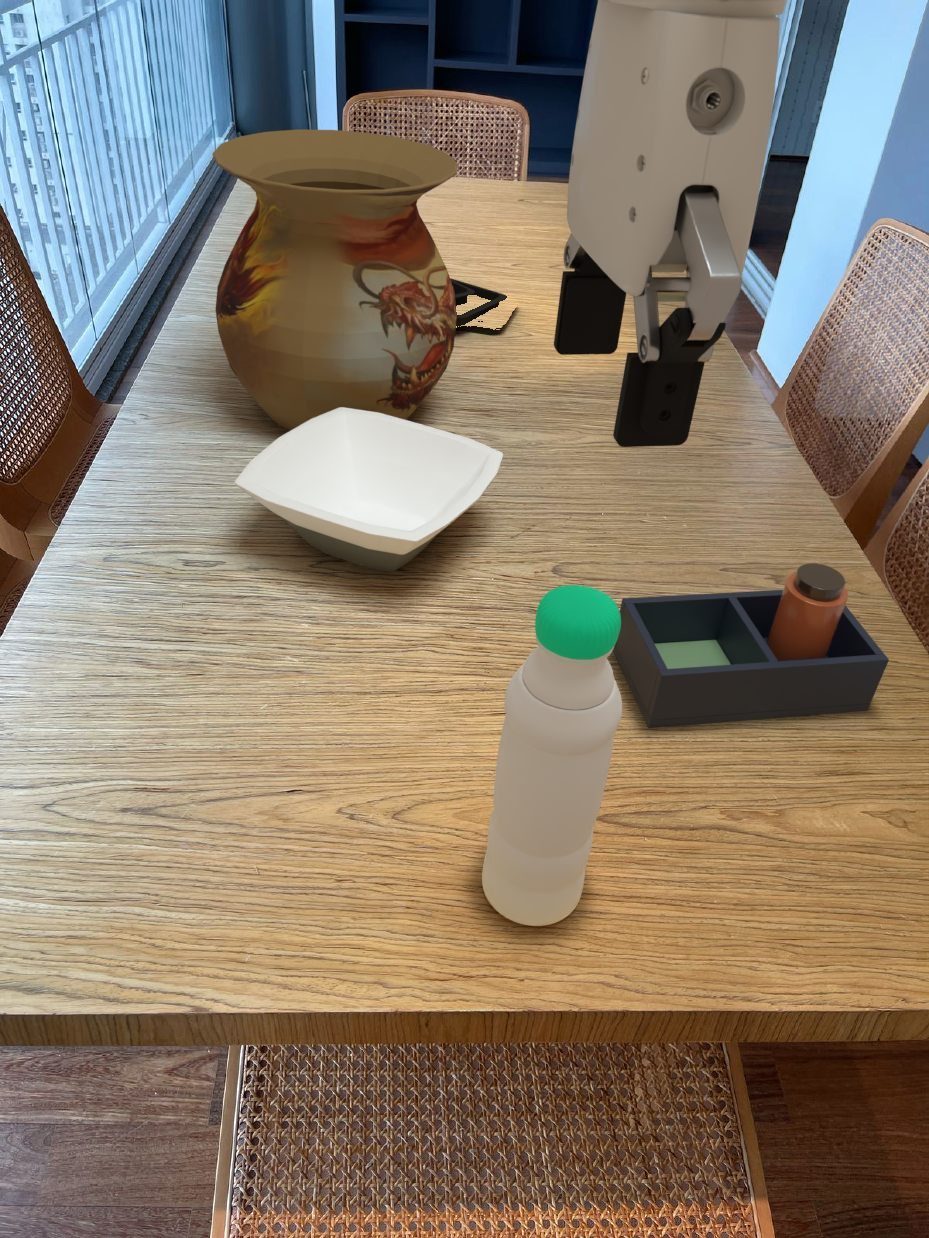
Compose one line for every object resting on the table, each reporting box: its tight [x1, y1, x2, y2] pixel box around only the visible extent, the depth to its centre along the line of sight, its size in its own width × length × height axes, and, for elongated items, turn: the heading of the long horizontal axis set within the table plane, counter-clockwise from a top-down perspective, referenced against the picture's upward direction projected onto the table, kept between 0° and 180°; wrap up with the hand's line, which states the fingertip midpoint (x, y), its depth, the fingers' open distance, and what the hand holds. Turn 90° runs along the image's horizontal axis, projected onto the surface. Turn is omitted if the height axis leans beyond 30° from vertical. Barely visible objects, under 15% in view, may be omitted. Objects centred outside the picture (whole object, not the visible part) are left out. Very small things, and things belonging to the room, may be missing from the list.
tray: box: [450, 277, 507, 336], centre depth 155 cm, size 30×23×5 cm
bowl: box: [234, 407, 504, 573], centre depth 102 cm, size 22×23×8 cm
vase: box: [212, 129, 458, 431], centre depth 120 cm, size 29×29×30 cm
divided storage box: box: [612, 589, 890, 729], centre depth 89 cm, size 11×20×6 cm, turn 100°
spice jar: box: [766, 562, 849, 661], centre depth 88 cm, size 5×5×10 cm
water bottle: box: [481, 584, 623, 927], centre depth 63 cm, size 7×7×25 cm
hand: (614, 394), depth 47 cm, fingers open, 9 cm apart
